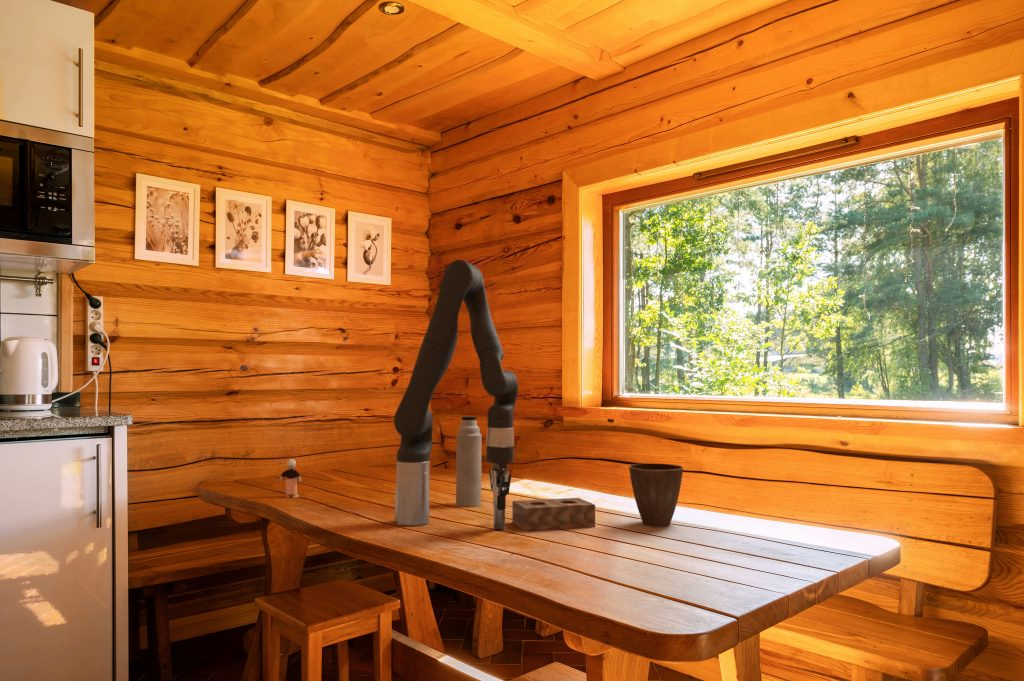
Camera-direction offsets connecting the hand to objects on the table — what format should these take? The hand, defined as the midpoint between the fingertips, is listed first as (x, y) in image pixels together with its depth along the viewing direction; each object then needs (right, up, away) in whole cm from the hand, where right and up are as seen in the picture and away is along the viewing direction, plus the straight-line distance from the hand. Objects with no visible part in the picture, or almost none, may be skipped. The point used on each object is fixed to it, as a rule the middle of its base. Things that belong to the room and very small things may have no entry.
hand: (499, 508), depth 202 cm
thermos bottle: (-10, -7, +37) cm, 39 cm away
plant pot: (+44, -6, +8) cm, 45 cm away
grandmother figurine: (-71, -8, +51) cm, 88 cm away
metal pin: (0, -5, 0) cm, 5 cm away
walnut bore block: (+15, -6, +6) cm, 17 cm away
